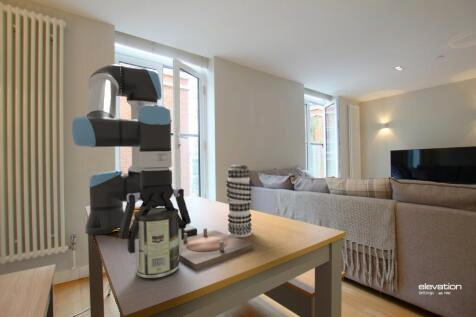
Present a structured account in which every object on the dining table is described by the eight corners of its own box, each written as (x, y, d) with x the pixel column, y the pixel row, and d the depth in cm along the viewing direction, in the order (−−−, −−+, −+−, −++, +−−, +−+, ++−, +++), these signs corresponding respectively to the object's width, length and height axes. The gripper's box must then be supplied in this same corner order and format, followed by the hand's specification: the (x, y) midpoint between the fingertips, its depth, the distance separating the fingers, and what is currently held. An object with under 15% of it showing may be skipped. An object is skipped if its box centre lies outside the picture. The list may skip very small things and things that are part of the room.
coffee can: (166, 255, 67) (165, 205, 67) (187, 267, 60) (186, 210, 60) (128, 268, 60) (127, 211, 60) (147, 283, 53) (146, 219, 52)
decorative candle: (222, 233, 89) (220, 165, 89) (241, 228, 94) (240, 164, 94) (237, 239, 82) (236, 165, 82) (257, 233, 87) (256, 164, 87)
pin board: (161, 248, 75) (161, 235, 75) (214, 234, 88) (214, 223, 88) (195, 270, 60) (195, 254, 60) (253, 248, 73) (253, 235, 73)
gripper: (109, 172, 49) (112, 280, 50) (203, 167, 64) (204, 250, 64) (101, 171, 55) (103, 268, 55) (189, 166, 70) (190, 243, 70)
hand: (158, 258), depth 60 cm, fingers closed on coffee can, 10 cm apart
